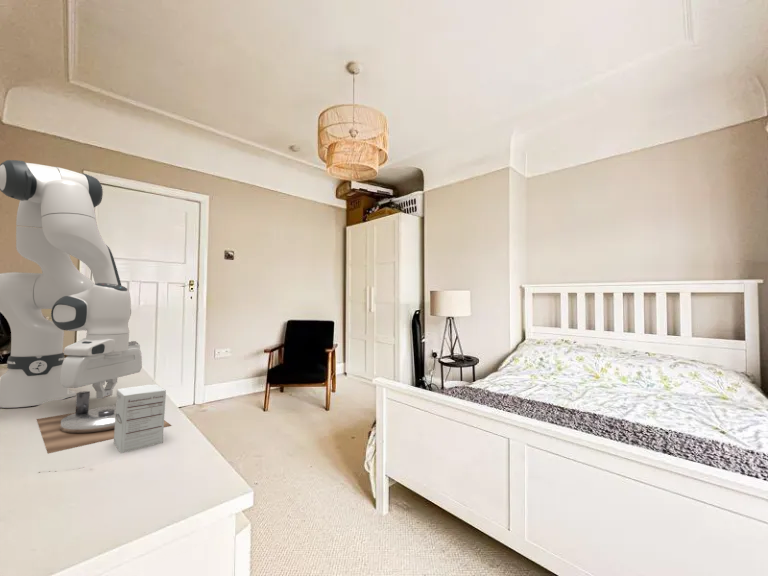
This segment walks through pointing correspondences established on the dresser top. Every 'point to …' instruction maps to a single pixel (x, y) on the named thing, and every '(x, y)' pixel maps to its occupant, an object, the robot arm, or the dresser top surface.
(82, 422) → the dial
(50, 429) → the base board
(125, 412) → the supplement box
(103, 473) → the dresser top surface
